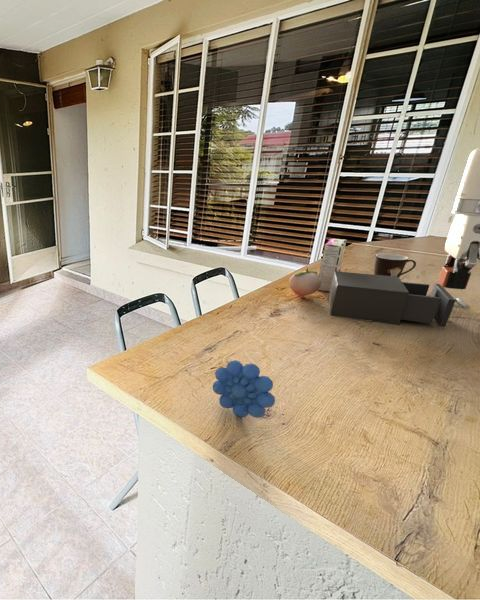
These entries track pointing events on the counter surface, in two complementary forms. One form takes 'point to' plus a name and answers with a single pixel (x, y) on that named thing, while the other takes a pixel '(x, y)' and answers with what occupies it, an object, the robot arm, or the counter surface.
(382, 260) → the coffee mug
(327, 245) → the candy bar box
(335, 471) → the counter surface
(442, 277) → the block
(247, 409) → the blue bumpy cluster
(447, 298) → the drawer
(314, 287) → the decorative fruit
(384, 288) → the cabinet
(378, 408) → the counter surface
